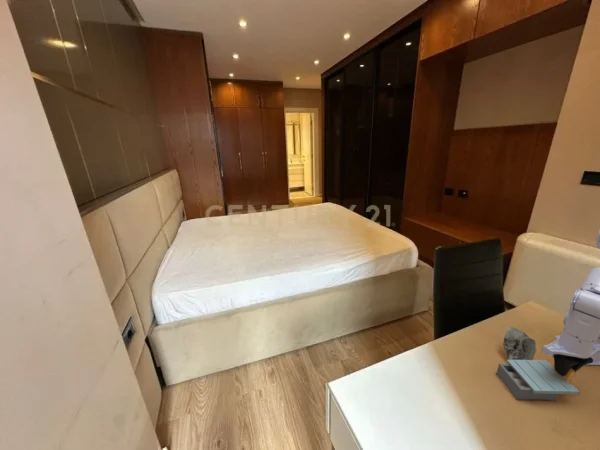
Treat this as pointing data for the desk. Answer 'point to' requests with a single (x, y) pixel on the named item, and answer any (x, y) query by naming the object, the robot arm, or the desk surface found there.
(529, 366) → the lid
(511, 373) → the tub
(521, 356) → the stone
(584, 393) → the desk surface
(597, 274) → the robot arm
